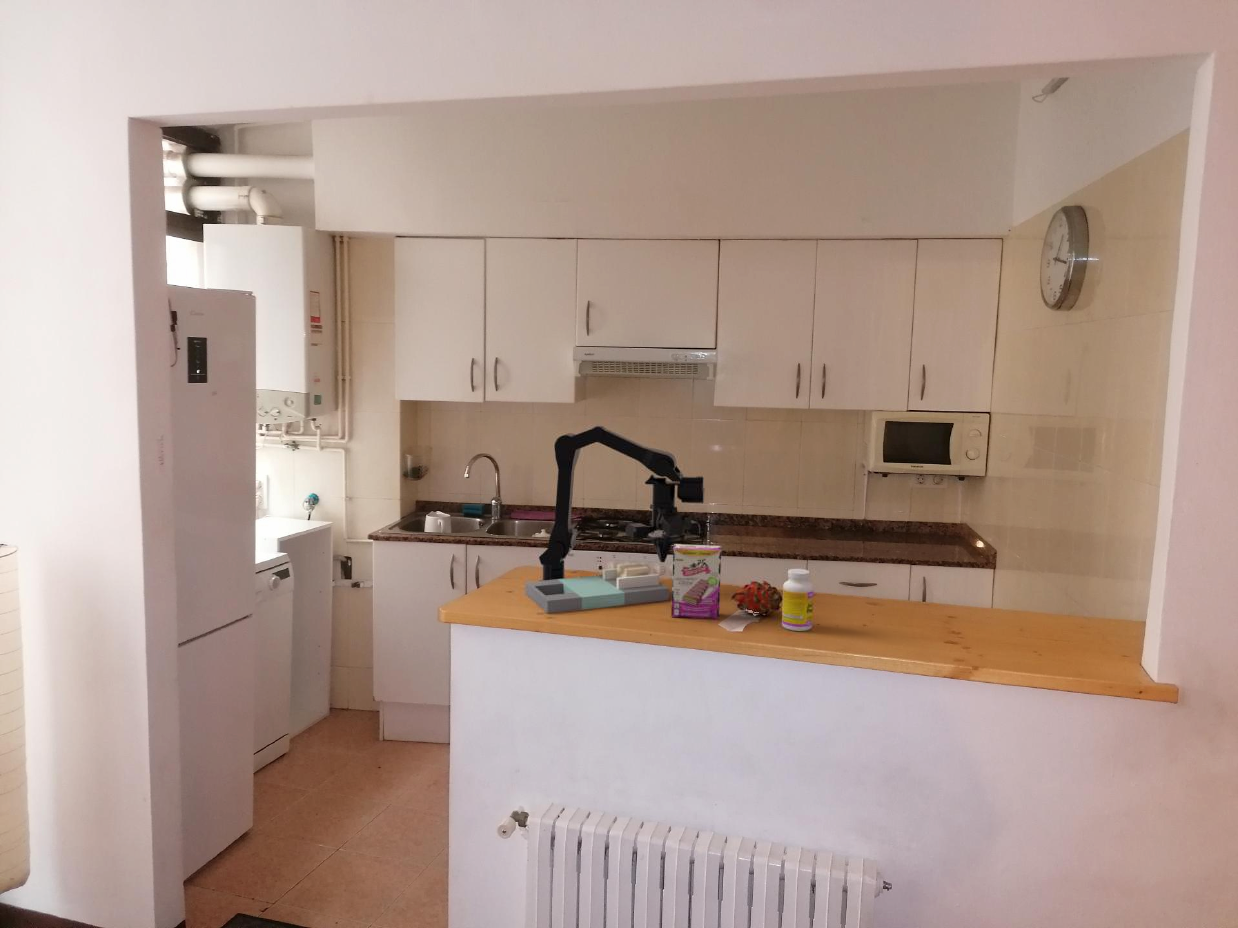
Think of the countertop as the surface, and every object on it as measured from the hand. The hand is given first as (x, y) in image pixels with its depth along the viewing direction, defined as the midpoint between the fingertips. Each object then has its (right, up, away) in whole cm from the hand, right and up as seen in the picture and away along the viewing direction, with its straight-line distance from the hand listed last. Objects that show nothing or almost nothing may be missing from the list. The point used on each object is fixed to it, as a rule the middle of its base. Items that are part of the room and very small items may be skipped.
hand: (662, 561), depth 223 cm
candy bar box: (+7, -10, -21) cm, 24 cm away
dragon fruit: (+21, -10, -19) cm, 30 cm away
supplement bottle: (+29, -12, -29) cm, 42 cm away
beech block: (-8, -5, -3) cm, 9 cm away
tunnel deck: (-17, -8, -6) cm, 20 cm away
